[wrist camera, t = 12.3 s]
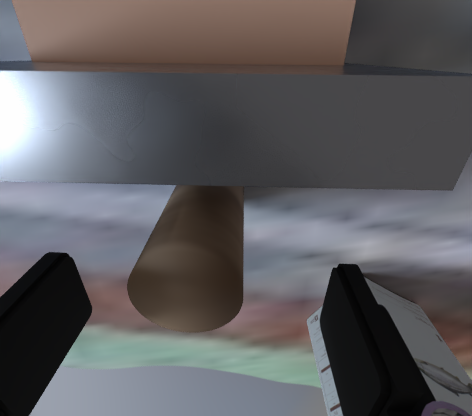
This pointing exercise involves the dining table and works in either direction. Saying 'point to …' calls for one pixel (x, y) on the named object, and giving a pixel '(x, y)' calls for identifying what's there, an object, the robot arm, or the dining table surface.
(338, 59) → the carriage
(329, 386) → the supplement box
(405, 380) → the robot arm
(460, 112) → the wall
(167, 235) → the dowel
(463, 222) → the dining table surface
